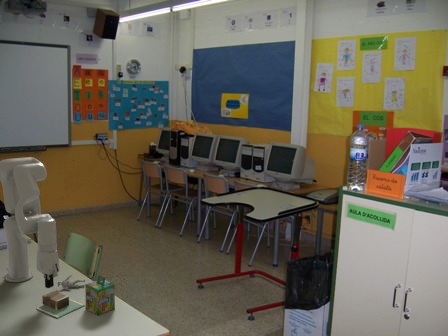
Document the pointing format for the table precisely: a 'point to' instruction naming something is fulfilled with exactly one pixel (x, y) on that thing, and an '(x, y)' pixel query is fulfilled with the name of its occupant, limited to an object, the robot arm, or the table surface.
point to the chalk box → (100, 296)
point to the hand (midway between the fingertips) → (49, 286)
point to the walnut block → (55, 300)
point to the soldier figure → (70, 284)
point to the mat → (59, 313)
